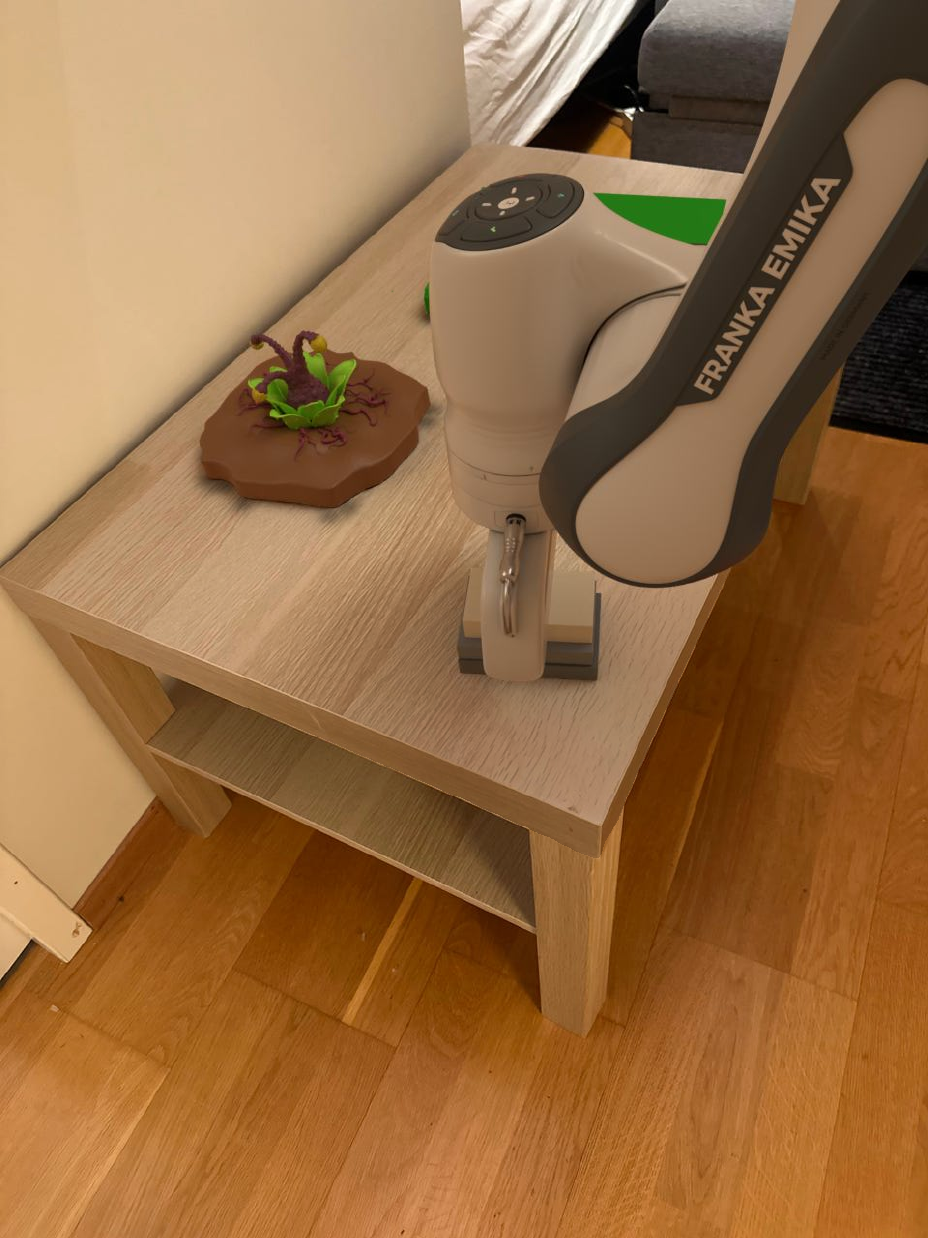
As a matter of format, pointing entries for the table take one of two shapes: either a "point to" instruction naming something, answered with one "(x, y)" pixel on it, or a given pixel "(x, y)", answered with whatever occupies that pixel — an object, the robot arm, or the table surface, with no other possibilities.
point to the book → (661, 217)
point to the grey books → (559, 655)
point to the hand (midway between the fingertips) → (529, 608)
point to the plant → (313, 425)
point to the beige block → (566, 607)
